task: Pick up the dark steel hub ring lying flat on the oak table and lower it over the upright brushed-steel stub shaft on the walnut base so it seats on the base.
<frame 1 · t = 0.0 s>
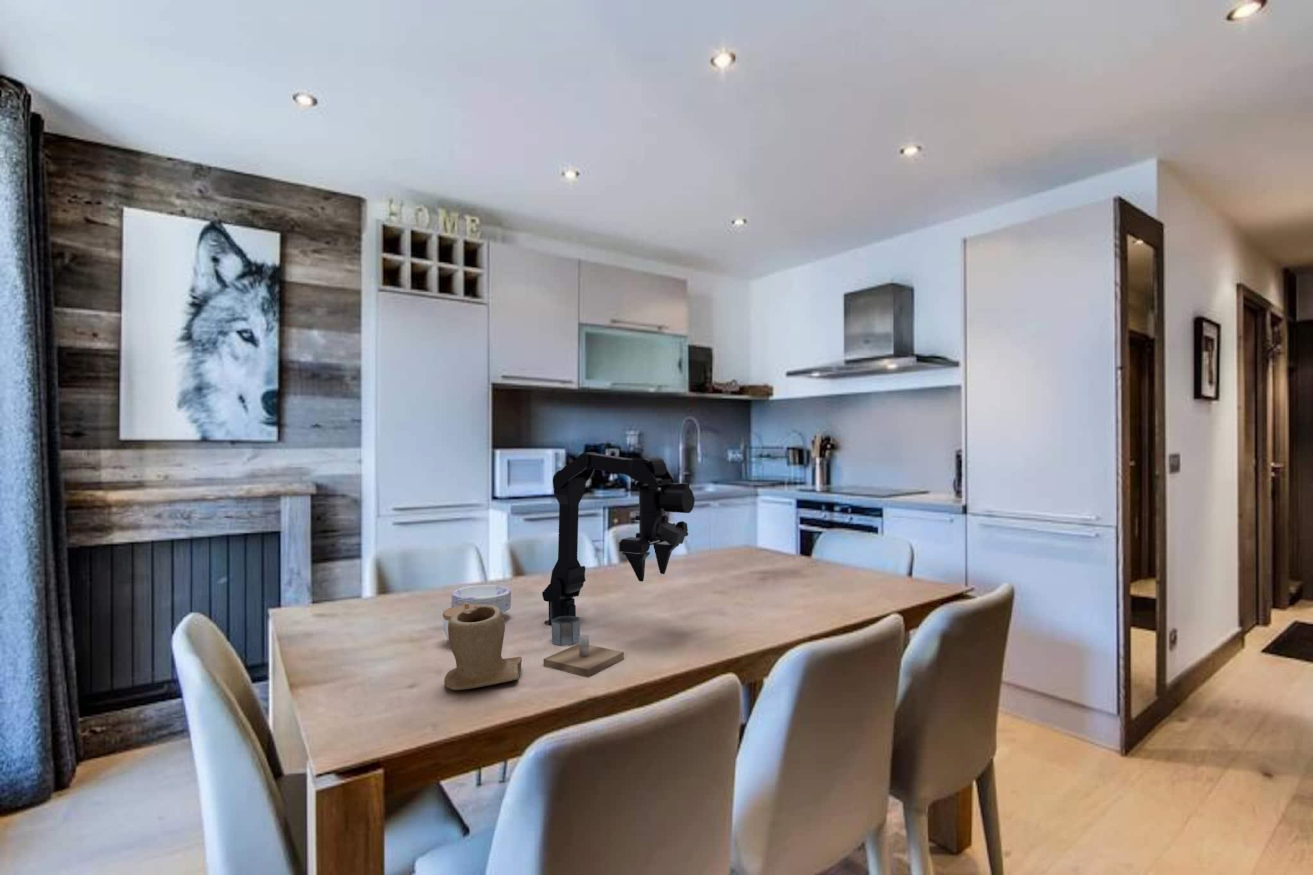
hand: (652, 577, 147), 15 cm above the table, tool pointing down, fingers open, 9 cm apart
paper bowls: (481, 621, 166), on the table
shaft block: (584, 662, 133), on the table
lidded jar: (467, 644, 147), on the table
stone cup: (485, 685, 122), on the table
hub: (565, 640, 147), on the table
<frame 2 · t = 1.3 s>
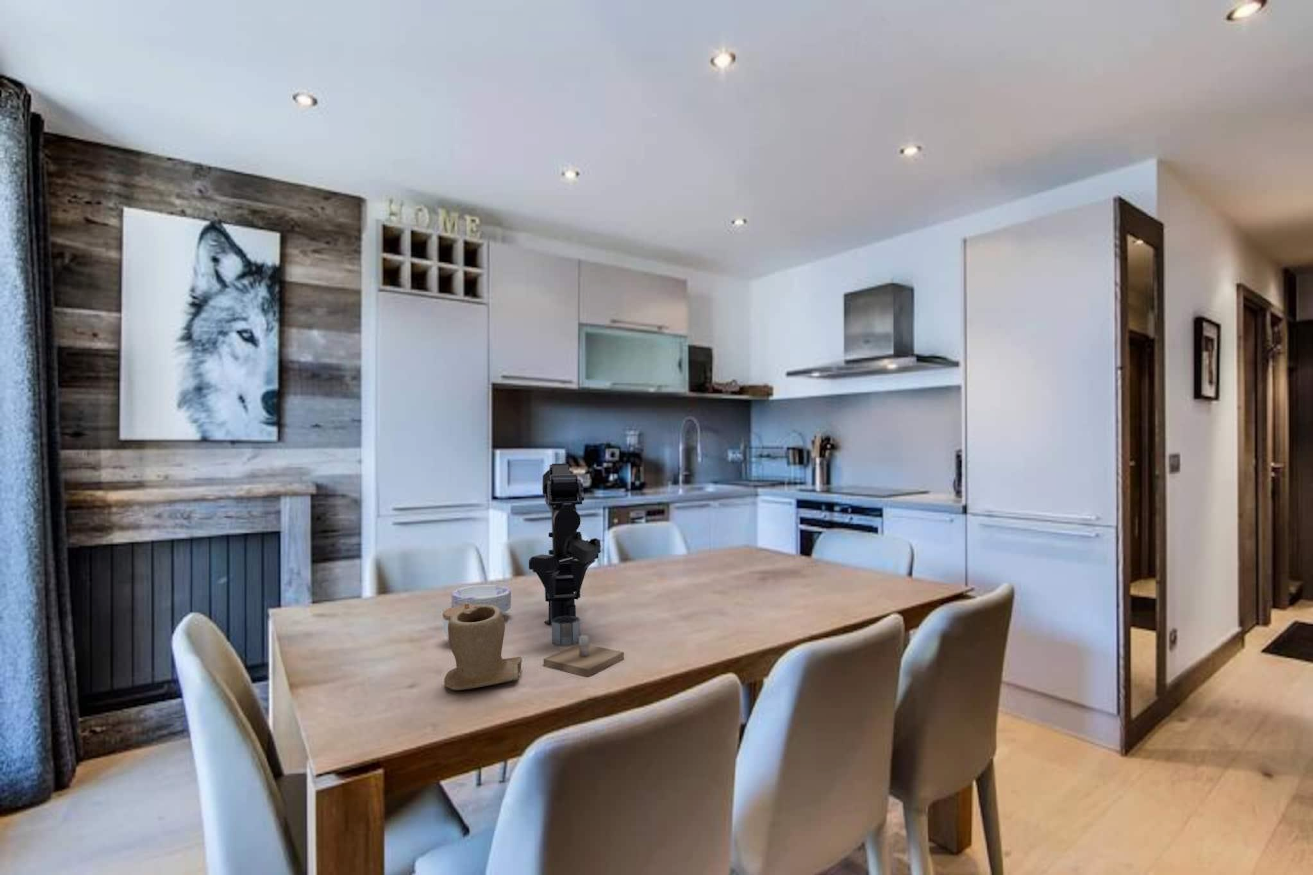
hand: (565, 594, 148), 11 cm above the table, tool pointing down, fingers open, 9 cm apart
nothing on the table moved.
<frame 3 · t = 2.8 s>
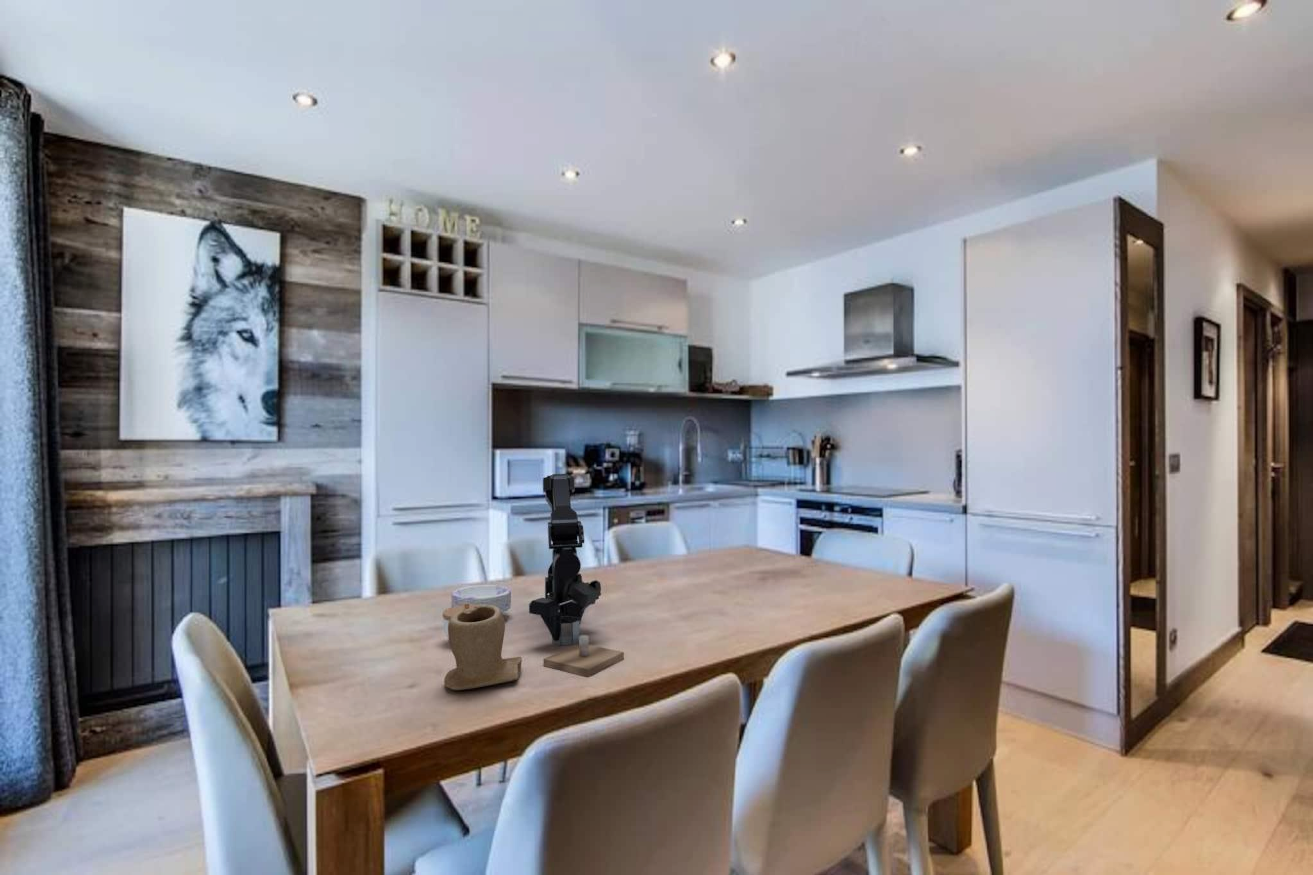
hand: (565, 636, 147), 1 cm above the table, tool pointing down, fingers closed on hub, 6 cm apart
hub: (565, 640, 147), on the table, touching gripper
everything else where it was.
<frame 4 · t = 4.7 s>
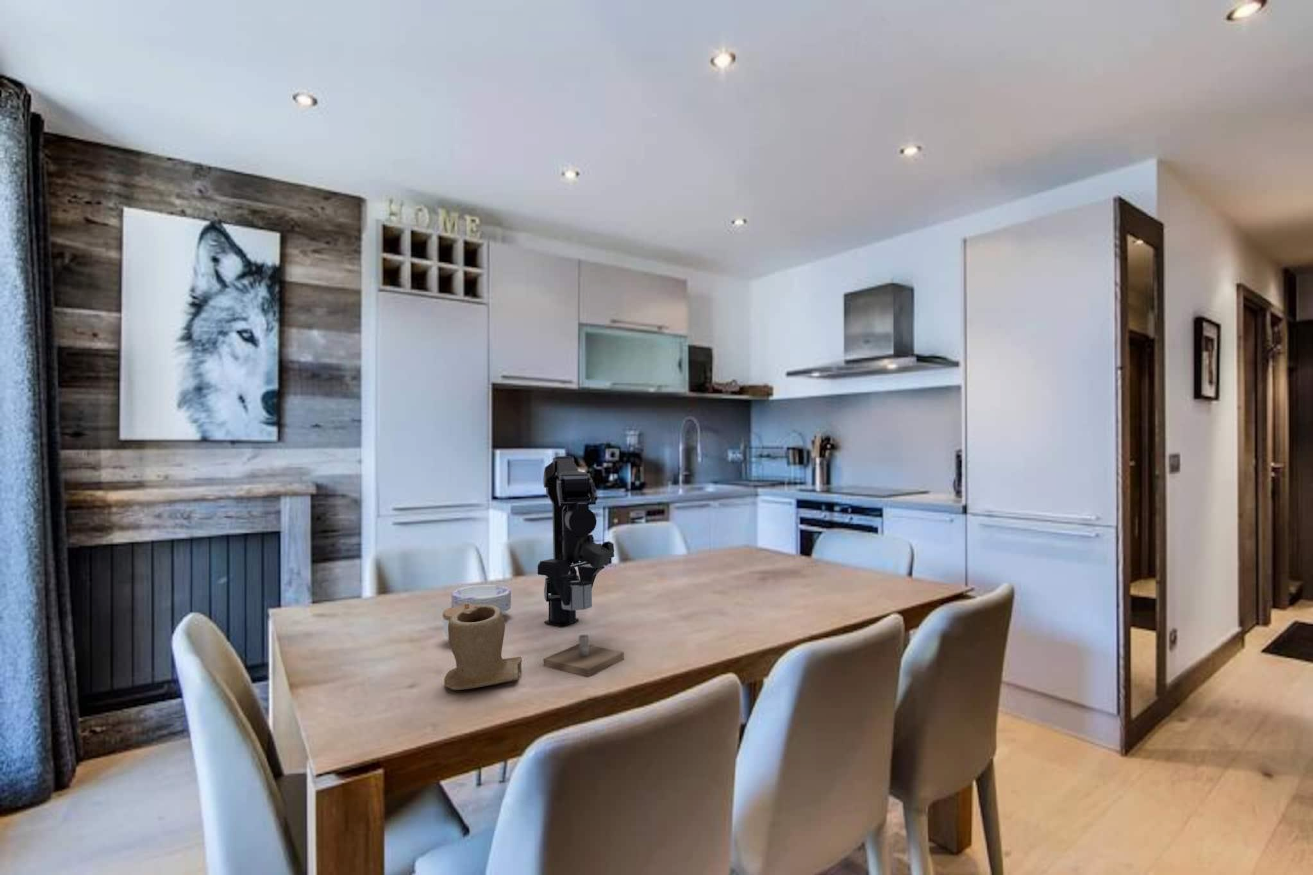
hand: (576, 601, 137), 12 cm above the table, tool pointing down, fingers closed on hub, 6 cm apart
hub: (576, 606, 137), point 11 cm above the table, touching gripper
everything else where it was.
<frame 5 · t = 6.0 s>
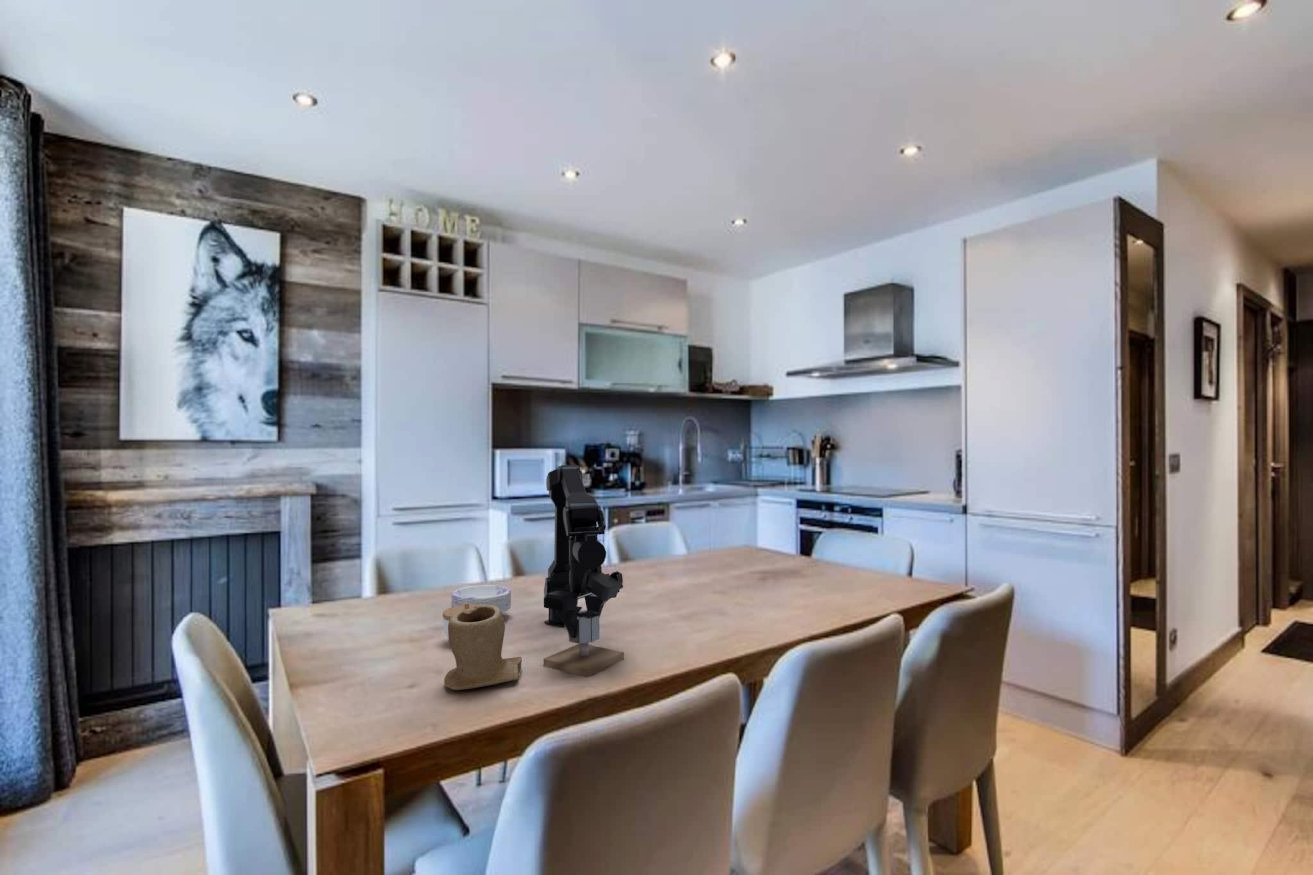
hand: (583, 633, 133), 6 cm above the table, tool pointing down, fingers closed on hub, 6 cm apart
hub: (583, 638, 133), point 5 cm above the table, touching gripper
everything else where it was.
when the fingers open (4 cm above the table, at t = 6.8 s): hub drops 2 cm, resting on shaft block.
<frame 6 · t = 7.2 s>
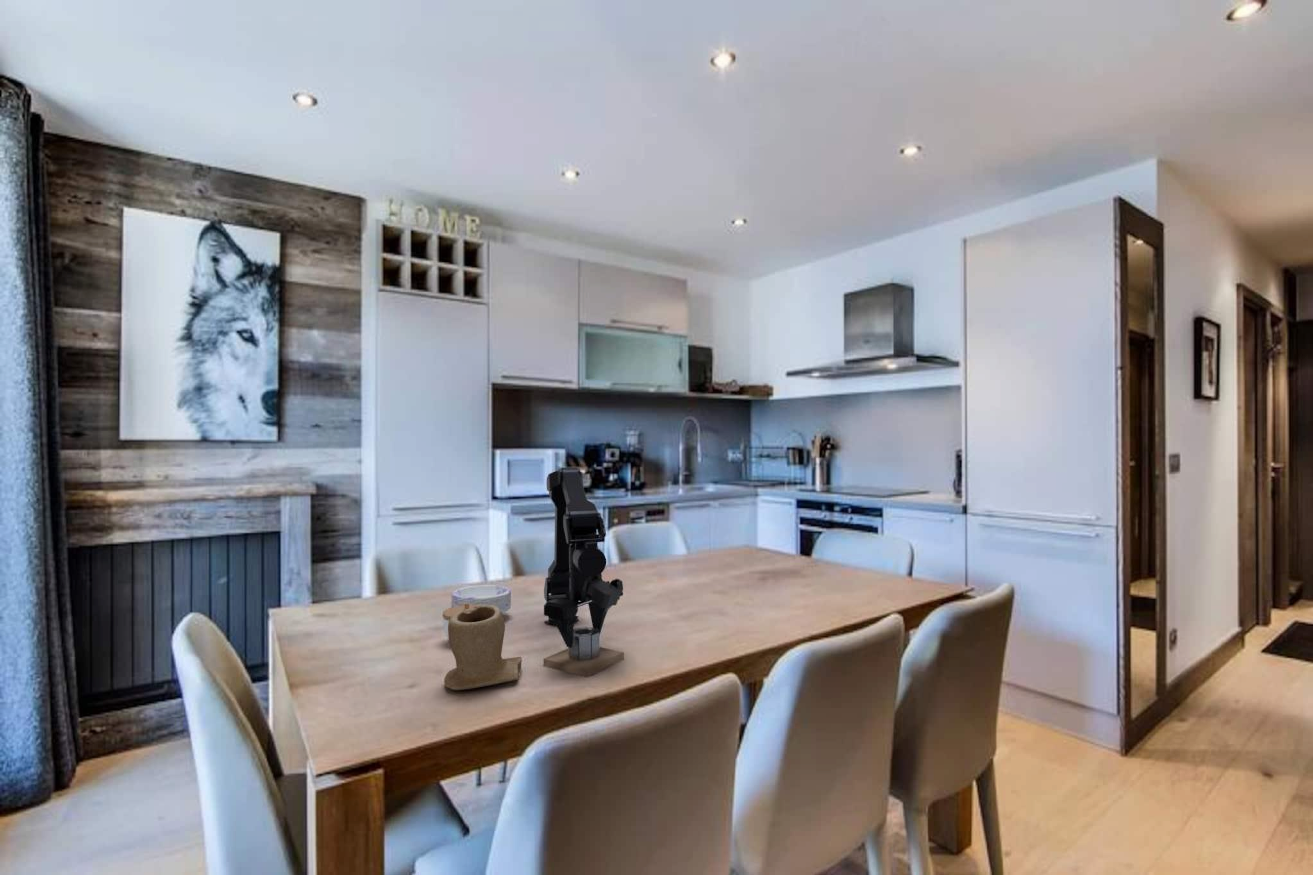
hand: (583, 641, 133), 4 cm above the table, tool pointing down, fingers open, 9 cm apart
hub: (583, 655, 133), point 1 cm above the table, touching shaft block
everything else where it was.
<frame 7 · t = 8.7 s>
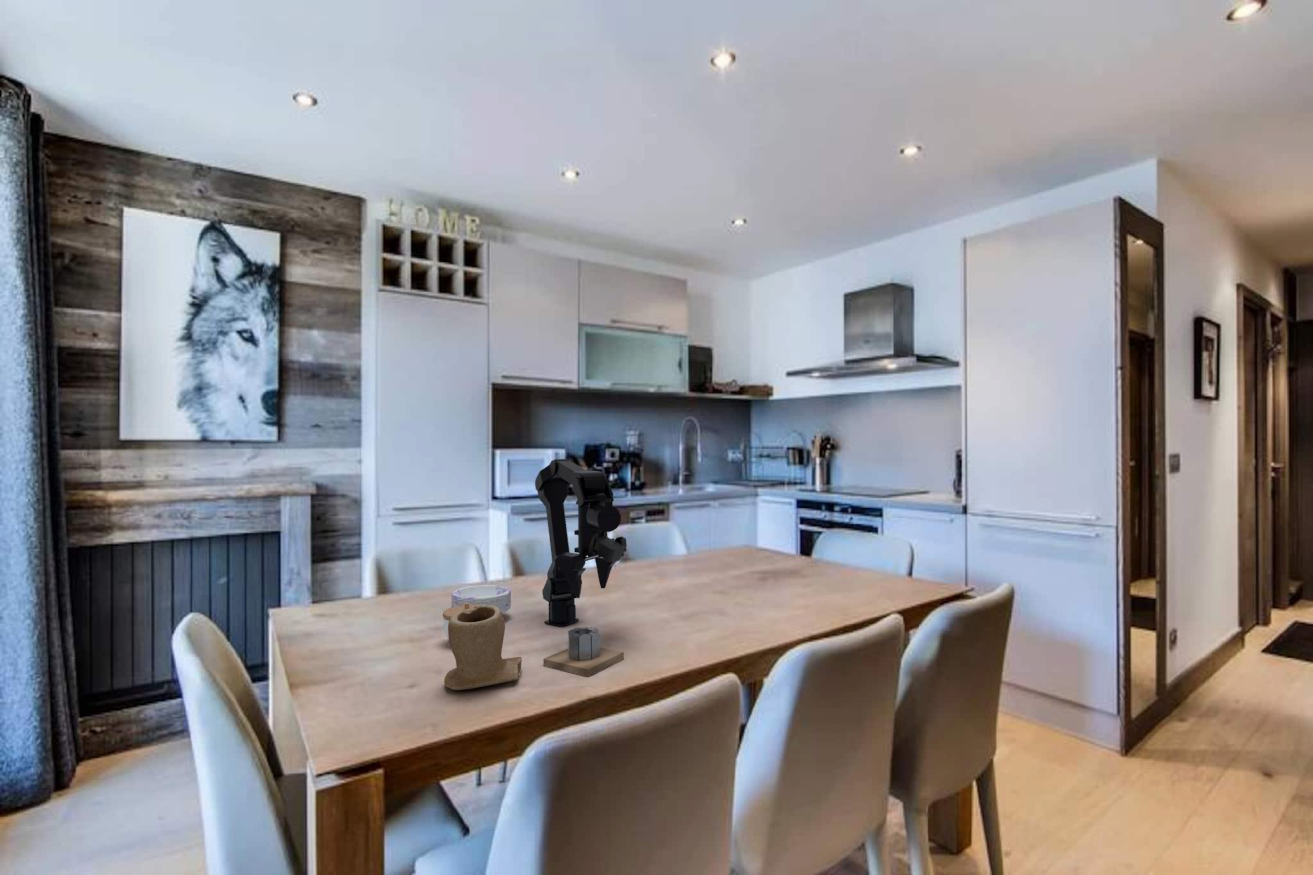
hand: (590, 592, 146), 12 cm above the table, tool pointing down, fingers open, 9 cm apart
nothing on the table moved.
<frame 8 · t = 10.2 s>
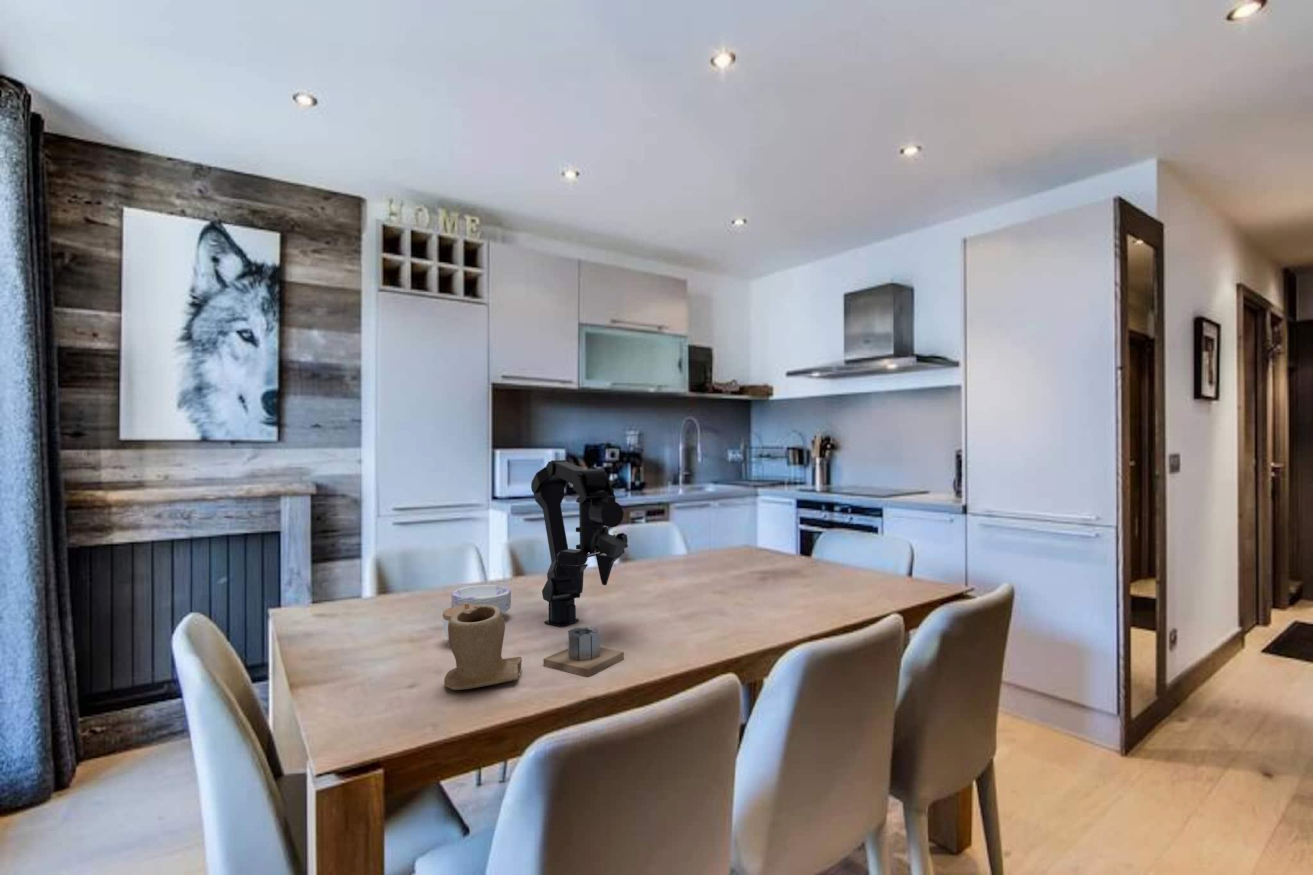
hand: (592, 588, 148), 12 cm above the table, tool pointing down, fingers open, 9 cm apart
nothing on the table moved.
at the end: hub 0.1 cm off-centre on the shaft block, point 1.5 cm above the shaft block's base; hub tilted 0°; the gripper is holding nothing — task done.
